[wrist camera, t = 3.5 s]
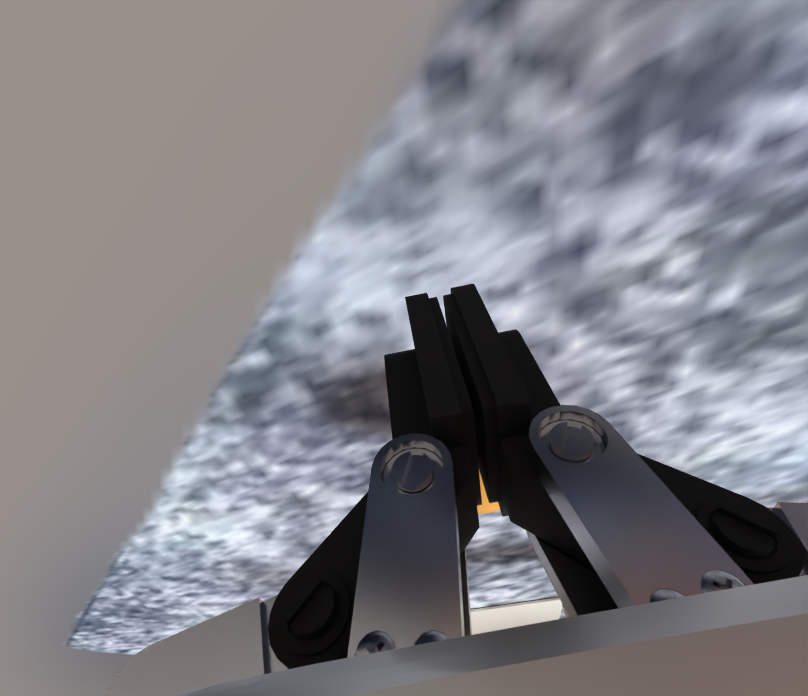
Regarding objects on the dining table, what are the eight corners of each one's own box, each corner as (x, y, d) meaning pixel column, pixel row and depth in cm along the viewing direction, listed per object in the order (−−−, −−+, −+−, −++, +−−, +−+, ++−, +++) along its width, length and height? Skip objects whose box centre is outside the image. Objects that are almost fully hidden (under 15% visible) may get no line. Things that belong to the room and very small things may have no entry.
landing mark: (409, 618, 38) (409, 620, 38) (562, 596, 37) (563, 599, 37) (428, 664, 47) (429, 666, 47) (553, 647, 46) (553, 649, 46)
